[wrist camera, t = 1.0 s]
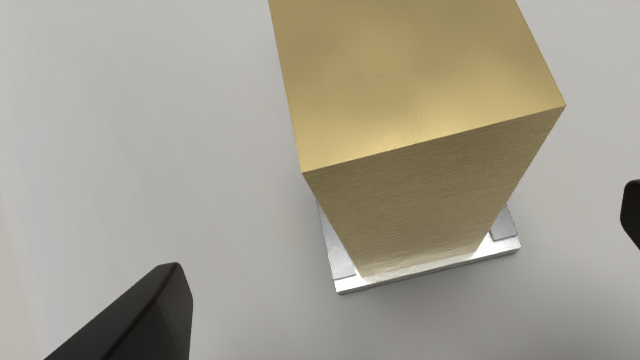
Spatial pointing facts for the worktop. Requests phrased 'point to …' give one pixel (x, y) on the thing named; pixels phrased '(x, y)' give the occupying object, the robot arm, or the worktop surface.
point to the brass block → (413, 118)
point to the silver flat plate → (349, 280)
